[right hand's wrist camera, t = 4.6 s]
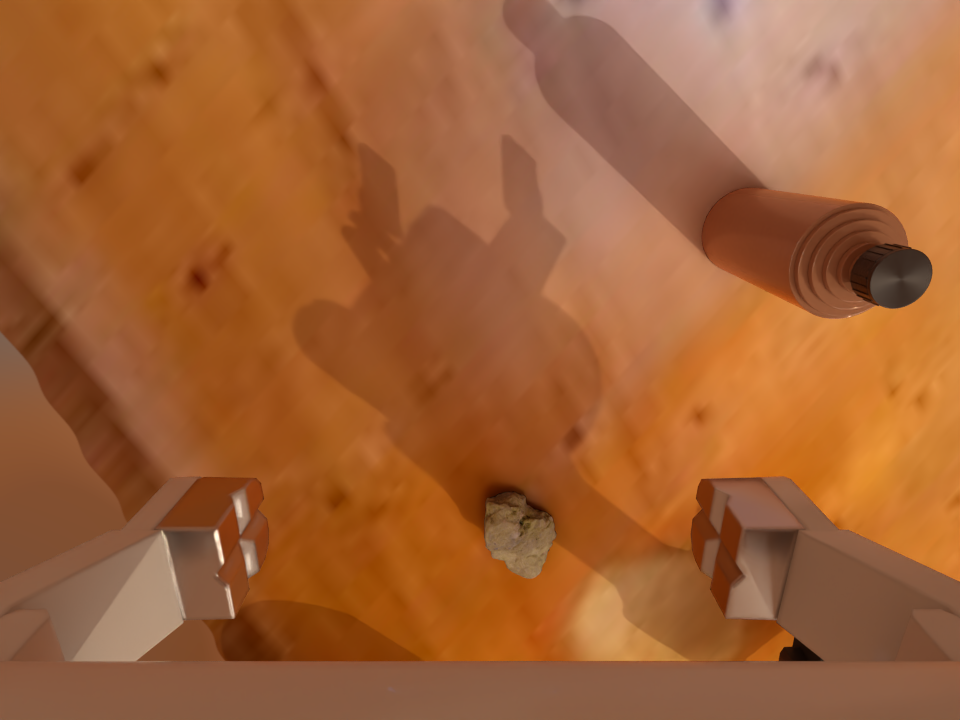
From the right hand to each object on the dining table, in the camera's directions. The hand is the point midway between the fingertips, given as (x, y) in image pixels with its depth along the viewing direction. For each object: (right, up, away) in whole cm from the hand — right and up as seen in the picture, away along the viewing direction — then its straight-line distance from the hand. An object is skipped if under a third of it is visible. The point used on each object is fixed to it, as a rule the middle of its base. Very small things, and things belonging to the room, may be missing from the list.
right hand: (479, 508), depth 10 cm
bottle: (+26, +16, +45) cm, 55 cm away
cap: (+26, +8, +25) cm, 37 cm away
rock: (+4, -17, +58) cm, 60 cm away
